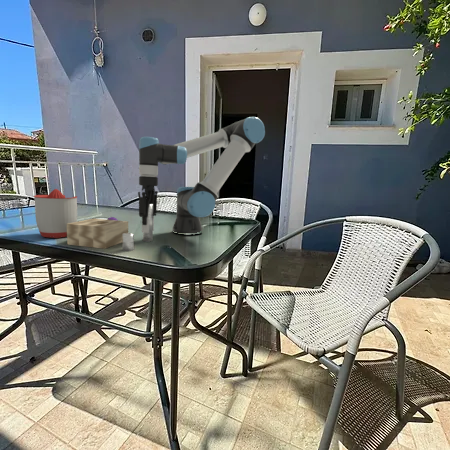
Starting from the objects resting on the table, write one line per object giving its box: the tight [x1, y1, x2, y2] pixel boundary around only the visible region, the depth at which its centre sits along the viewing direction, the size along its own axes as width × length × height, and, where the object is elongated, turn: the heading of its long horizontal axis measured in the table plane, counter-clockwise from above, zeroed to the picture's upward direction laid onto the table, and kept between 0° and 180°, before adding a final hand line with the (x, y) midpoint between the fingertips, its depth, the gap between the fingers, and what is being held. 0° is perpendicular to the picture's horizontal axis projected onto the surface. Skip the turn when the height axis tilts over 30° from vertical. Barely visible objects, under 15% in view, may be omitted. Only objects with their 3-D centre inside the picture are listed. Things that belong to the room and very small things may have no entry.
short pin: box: [121, 232, 135, 252], centre depth 99 cm, size 4×4×6 cm
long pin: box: [142, 203, 154, 243], centre depth 114 cm, size 4×4×16 cm
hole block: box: [66, 218, 129, 250], centre depth 108 cm, size 16×16×8 cm
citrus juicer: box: [33, 188, 78, 239], centre depth 114 cm, size 16×17×20 cm
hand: (147, 231), depth 115 cm, fingers closed on long pin, 4 cm apart
